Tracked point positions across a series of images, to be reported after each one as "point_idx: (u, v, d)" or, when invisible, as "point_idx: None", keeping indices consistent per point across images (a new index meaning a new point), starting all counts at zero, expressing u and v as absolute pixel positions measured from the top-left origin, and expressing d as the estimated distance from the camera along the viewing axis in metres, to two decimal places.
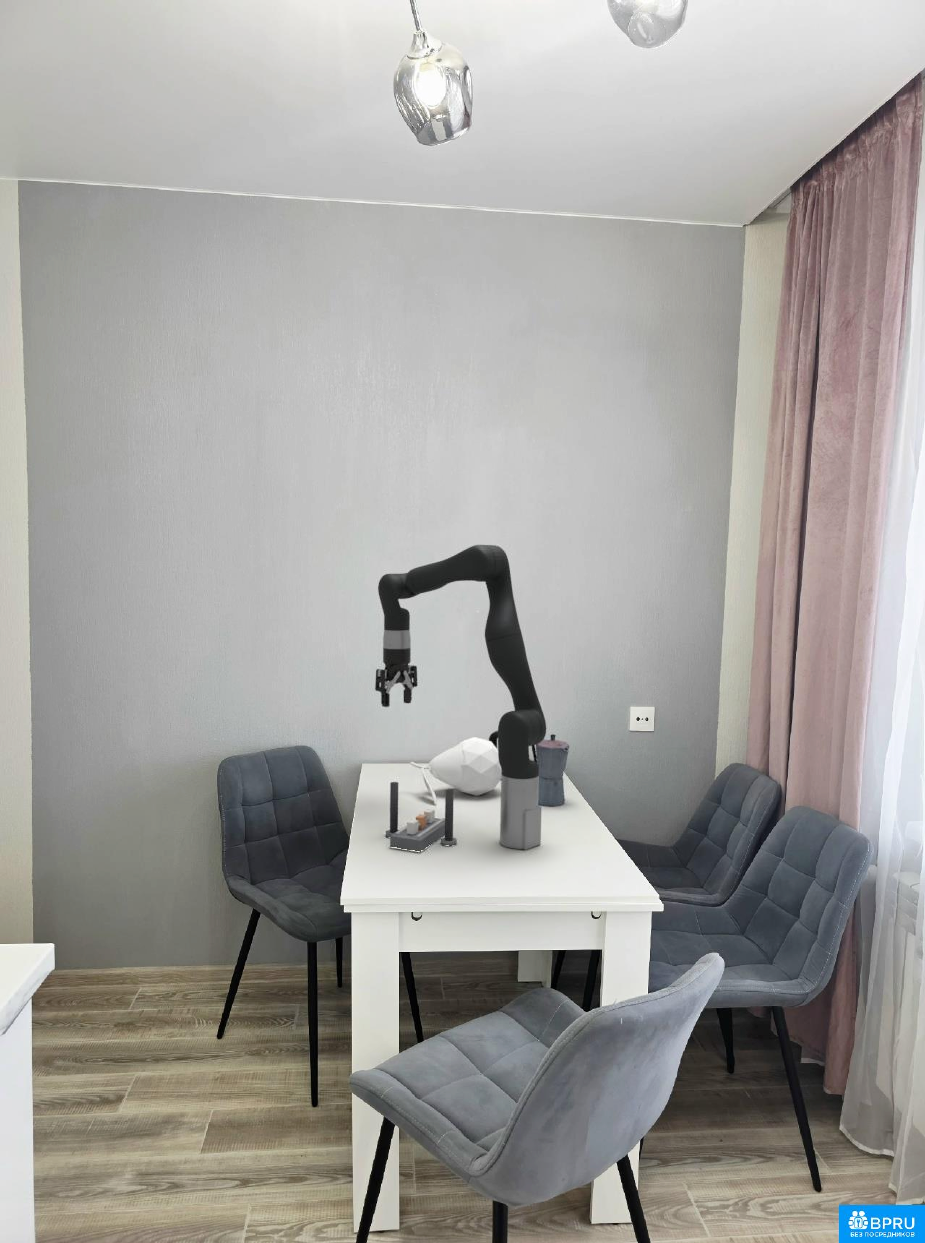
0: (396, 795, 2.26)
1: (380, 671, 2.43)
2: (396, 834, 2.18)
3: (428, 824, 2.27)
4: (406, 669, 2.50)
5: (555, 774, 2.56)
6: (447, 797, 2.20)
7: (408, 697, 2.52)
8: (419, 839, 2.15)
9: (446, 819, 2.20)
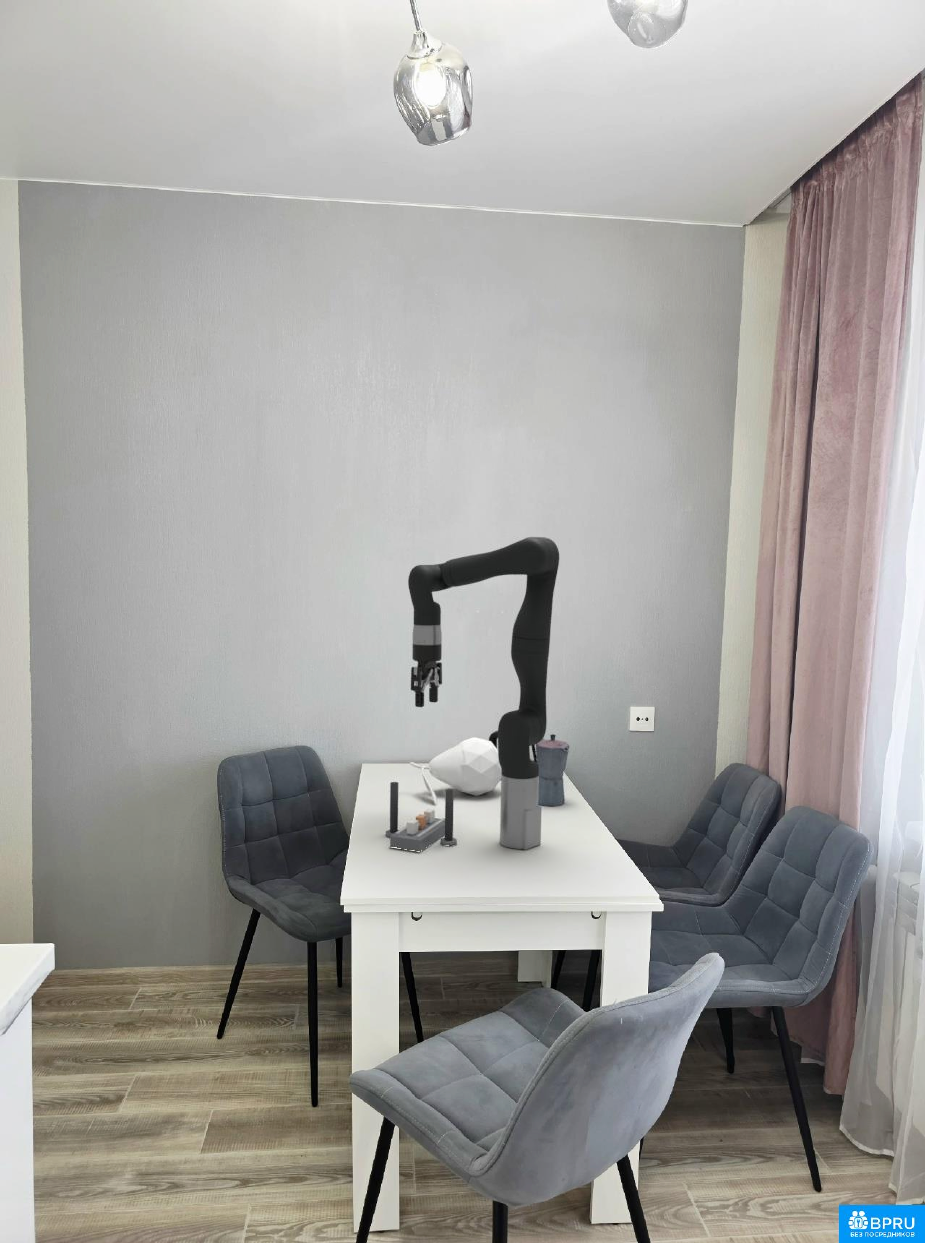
0: (396, 795, 2.26)
1: (417, 669, 2.27)
2: (396, 834, 2.18)
3: (428, 824, 2.27)
4: (435, 666, 2.36)
5: (555, 774, 2.56)
6: (447, 797, 2.20)
7: (435, 696, 2.38)
8: (419, 839, 2.15)
9: (446, 819, 2.20)
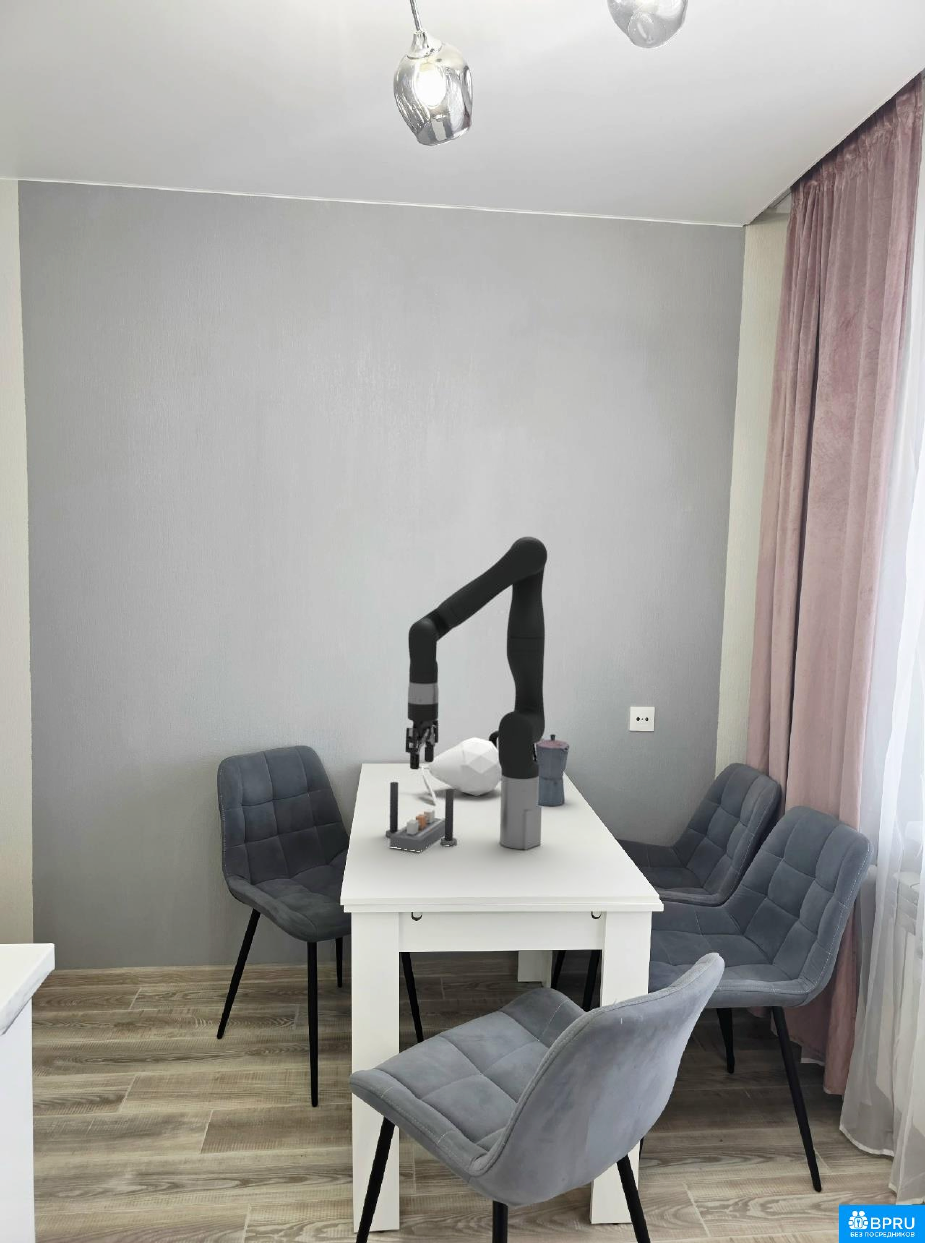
0: (396, 795, 2.26)
1: (412, 730, 2.16)
2: (396, 834, 2.18)
3: (428, 824, 2.27)
4: (431, 725, 2.24)
5: (555, 774, 2.56)
6: (447, 797, 2.20)
7: (431, 755, 2.26)
8: (419, 839, 2.15)
9: (446, 819, 2.20)
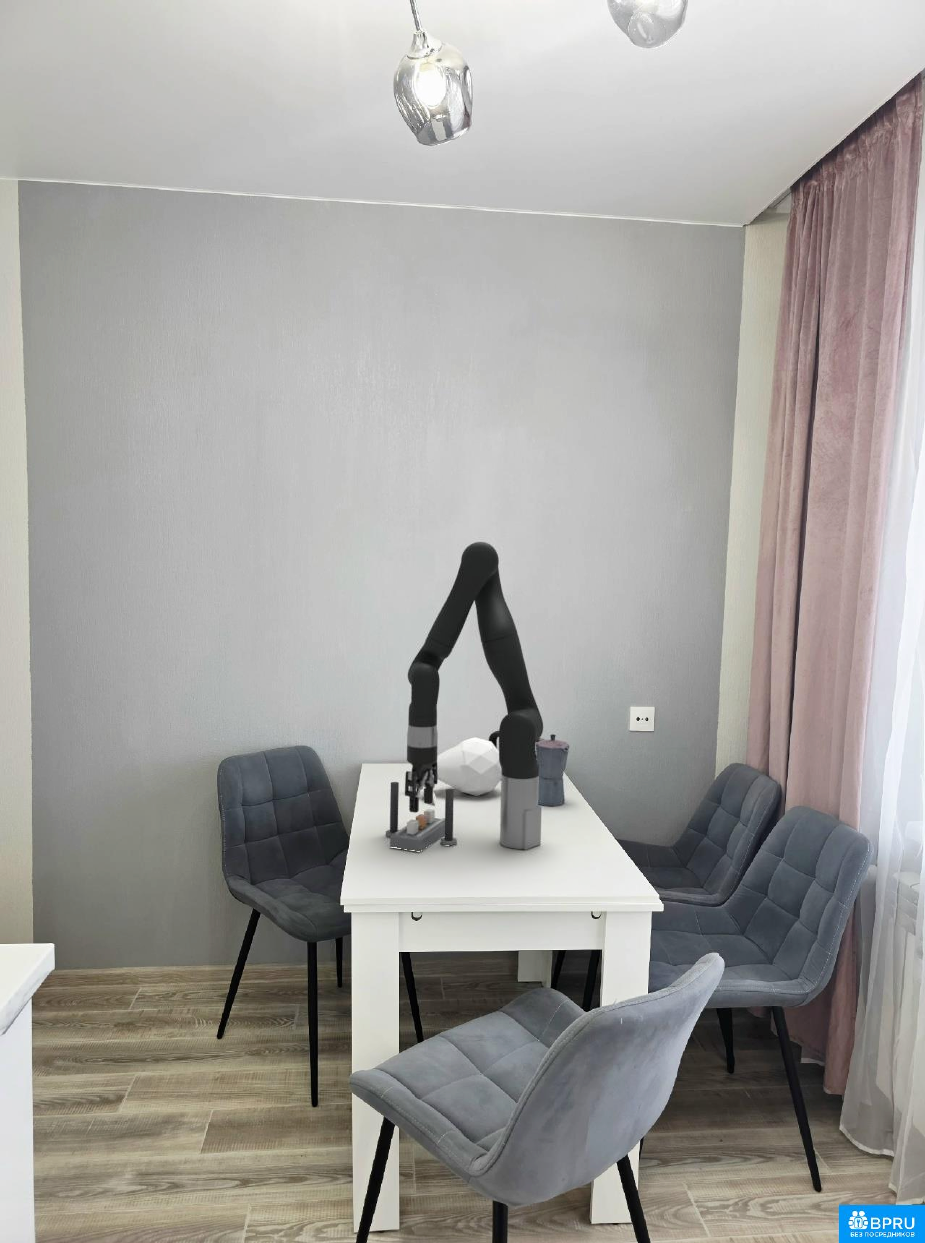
0: (396, 795, 2.26)
1: (411, 774, 2.17)
2: (396, 834, 2.18)
3: (428, 824, 2.27)
4: (430, 767, 2.25)
5: (555, 774, 2.56)
6: (447, 797, 2.20)
7: (430, 797, 2.27)
8: (419, 839, 2.15)
9: (446, 819, 2.20)
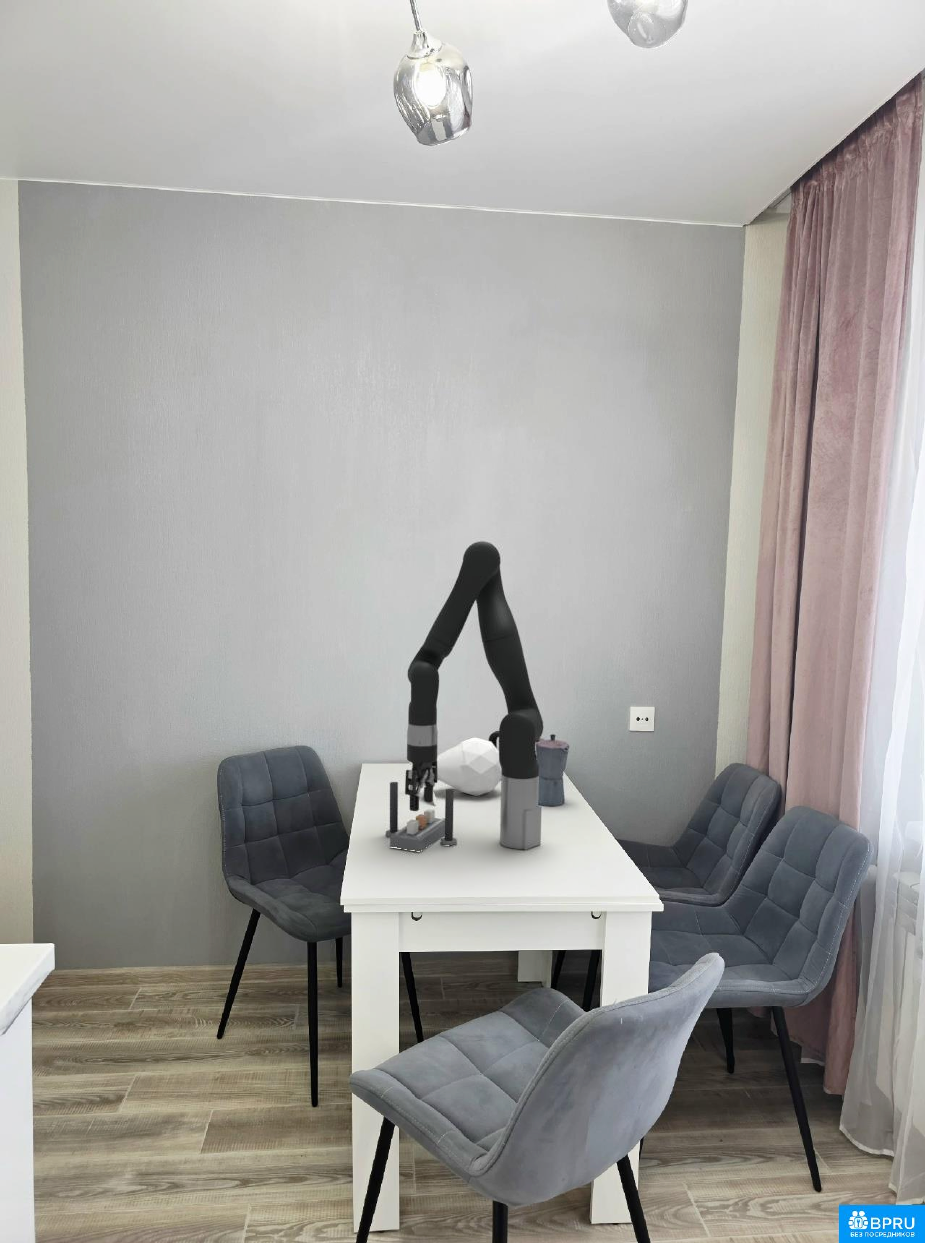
0: (396, 795, 2.26)
1: (412, 773, 2.16)
2: (396, 834, 2.18)
3: (428, 824, 2.27)
4: (430, 765, 2.25)
5: (555, 774, 2.56)
6: (447, 797, 2.20)
7: (430, 796, 2.27)
8: (419, 839, 2.15)
9: (446, 819, 2.20)
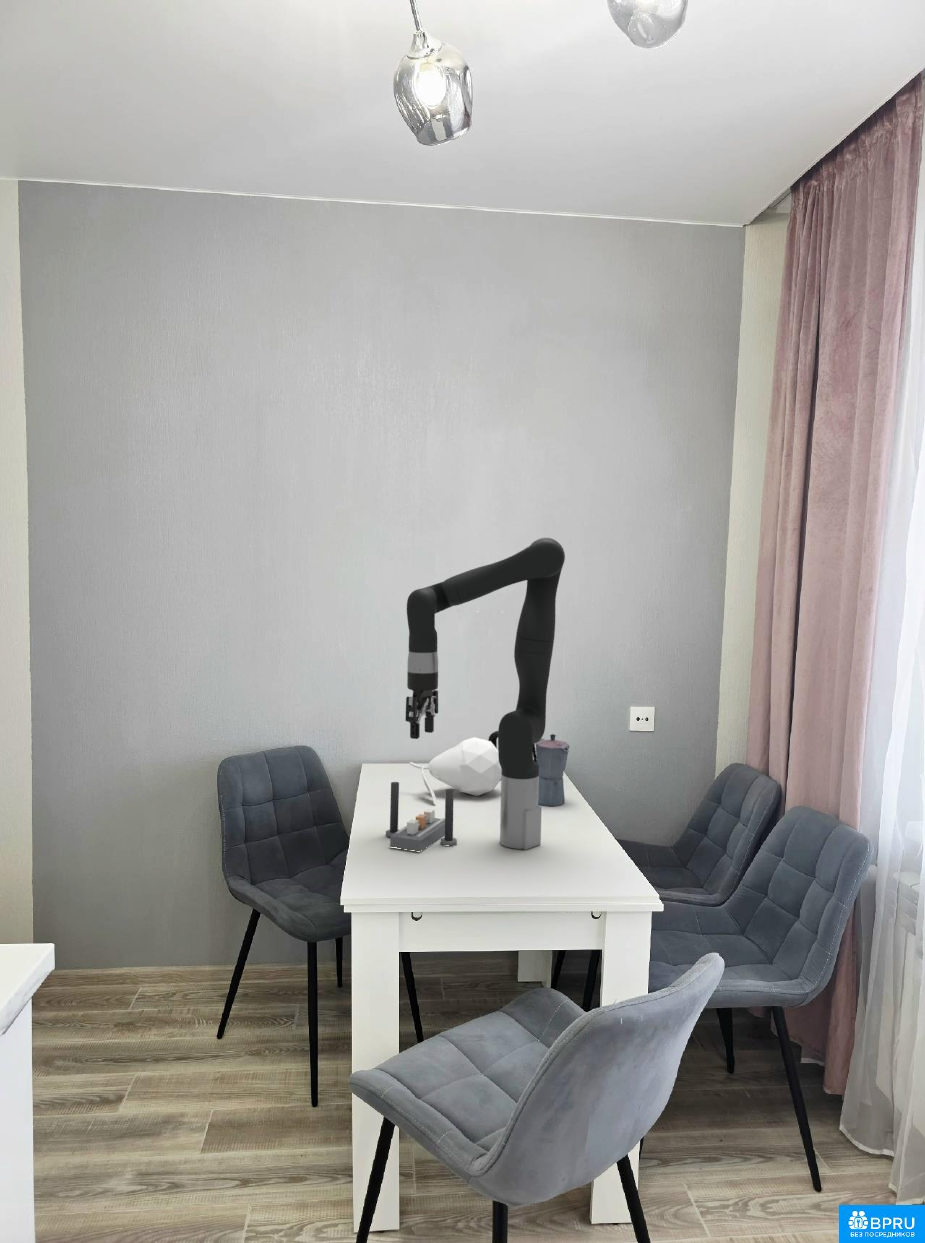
0: (397, 795, 2.26)
1: (412, 699, 2.15)
2: (396, 834, 2.18)
3: (428, 824, 2.27)
4: (431, 695, 2.24)
5: (555, 774, 2.56)
6: (447, 797, 2.20)
7: (431, 726, 2.26)
8: (419, 839, 2.15)
9: (446, 819, 2.20)
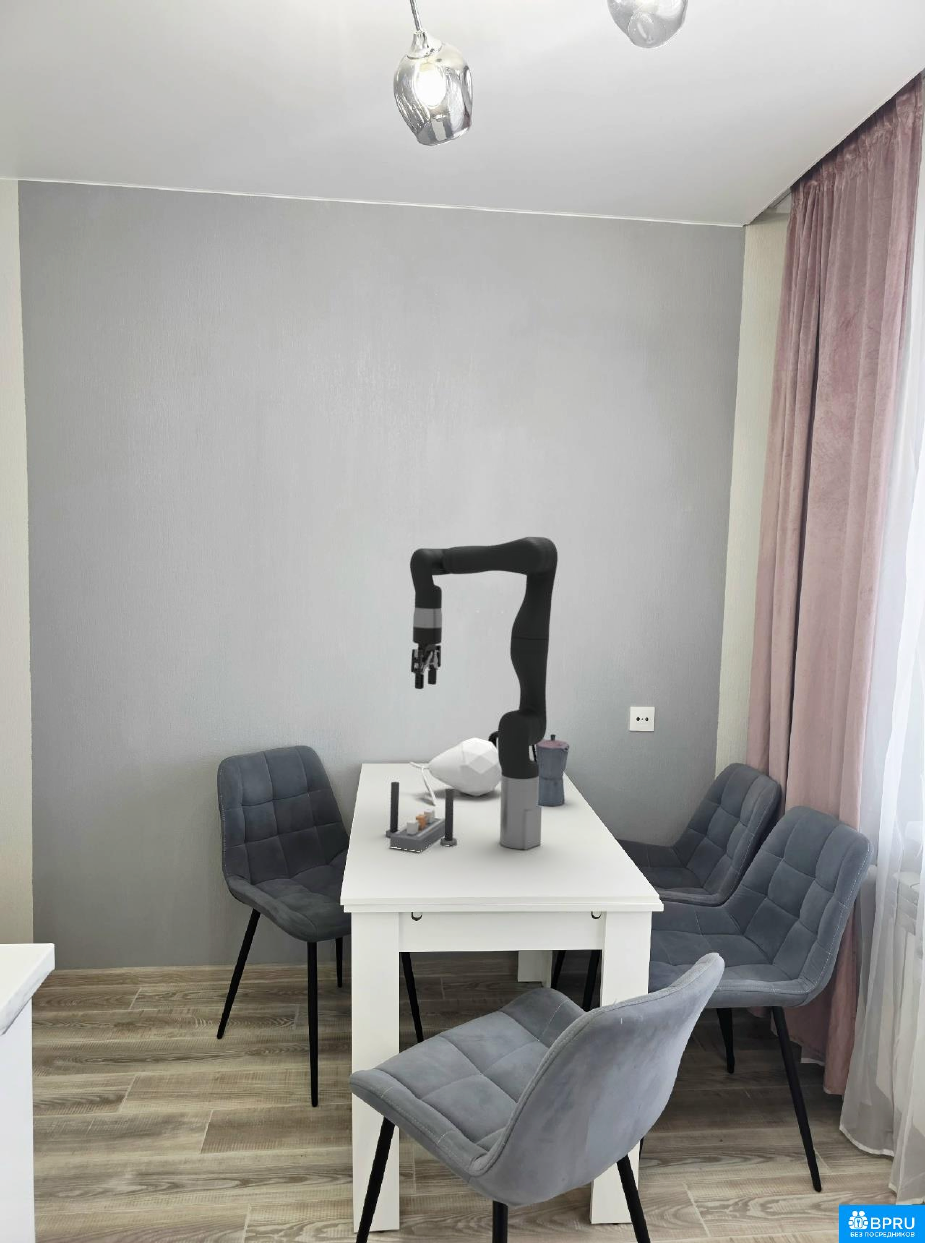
0: (397, 795, 2.26)
1: (417, 651, 2.30)
2: (396, 834, 2.18)
3: (428, 824, 2.27)
4: (434, 649, 2.39)
5: (555, 774, 2.56)
6: (447, 797, 2.20)
7: (434, 678, 2.41)
8: (419, 839, 2.15)
9: (446, 819, 2.20)
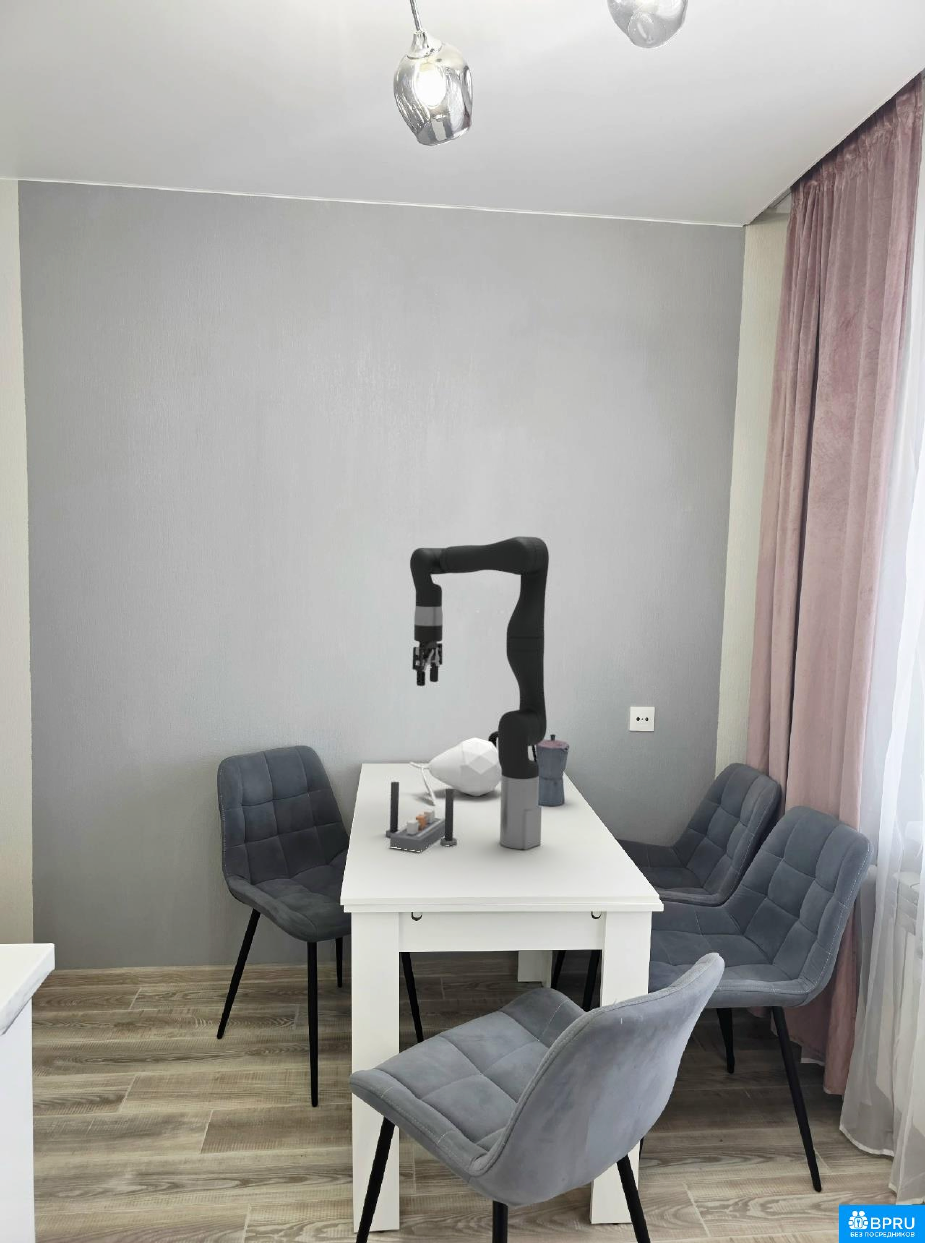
0: (397, 795, 2.26)
1: (418, 649, 2.34)
2: (396, 834, 2.18)
3: (428, 824, 2.27)
4: (435, 647, 2.43)
5: (555, 774, 2.56)
6: (447, 797, 2.20)
7: (436, 675, 2.45)
8: (419, 839, 2.15)
9: (446, 819, 2.20)
